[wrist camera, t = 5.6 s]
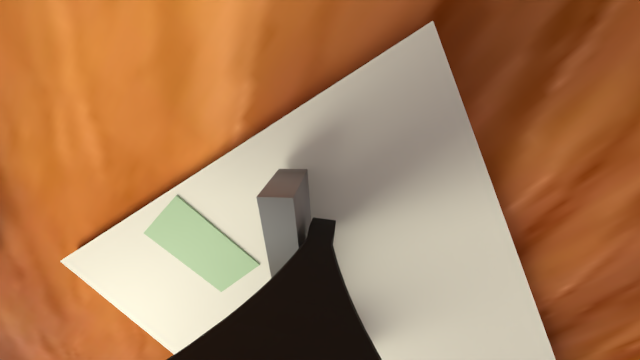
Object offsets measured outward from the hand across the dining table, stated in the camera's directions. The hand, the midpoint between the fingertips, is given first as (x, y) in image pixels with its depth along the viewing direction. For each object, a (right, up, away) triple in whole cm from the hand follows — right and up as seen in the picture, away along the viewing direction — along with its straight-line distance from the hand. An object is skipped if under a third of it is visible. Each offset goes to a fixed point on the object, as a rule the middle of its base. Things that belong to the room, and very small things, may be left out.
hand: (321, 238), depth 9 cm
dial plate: (0, -7, +6) cm, 9 cm away
